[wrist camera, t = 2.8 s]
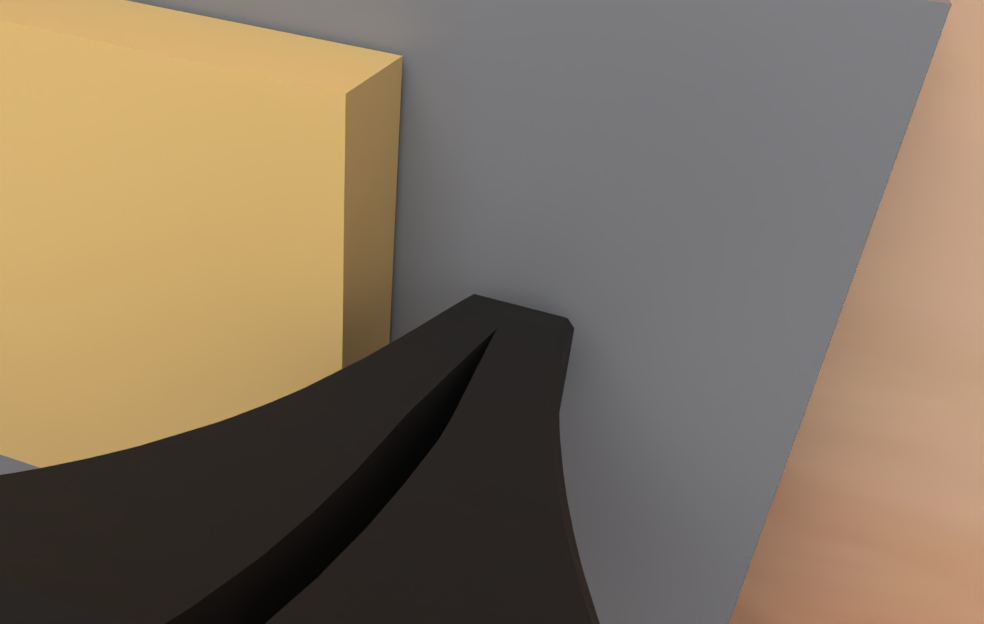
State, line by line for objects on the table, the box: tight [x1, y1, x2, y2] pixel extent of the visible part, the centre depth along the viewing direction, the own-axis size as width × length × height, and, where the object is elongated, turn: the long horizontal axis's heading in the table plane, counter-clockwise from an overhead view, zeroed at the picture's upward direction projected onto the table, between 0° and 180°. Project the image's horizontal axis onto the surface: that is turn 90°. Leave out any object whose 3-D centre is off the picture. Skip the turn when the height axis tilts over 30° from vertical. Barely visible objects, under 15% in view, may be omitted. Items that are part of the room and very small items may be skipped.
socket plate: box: [0, 0, 951, 624], centre depth 15 cm, size 12×18×2 cm, turn 84°
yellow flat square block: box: [0, 0, 403, 468], centre depth 13 cm, size 7×7×2 cm
